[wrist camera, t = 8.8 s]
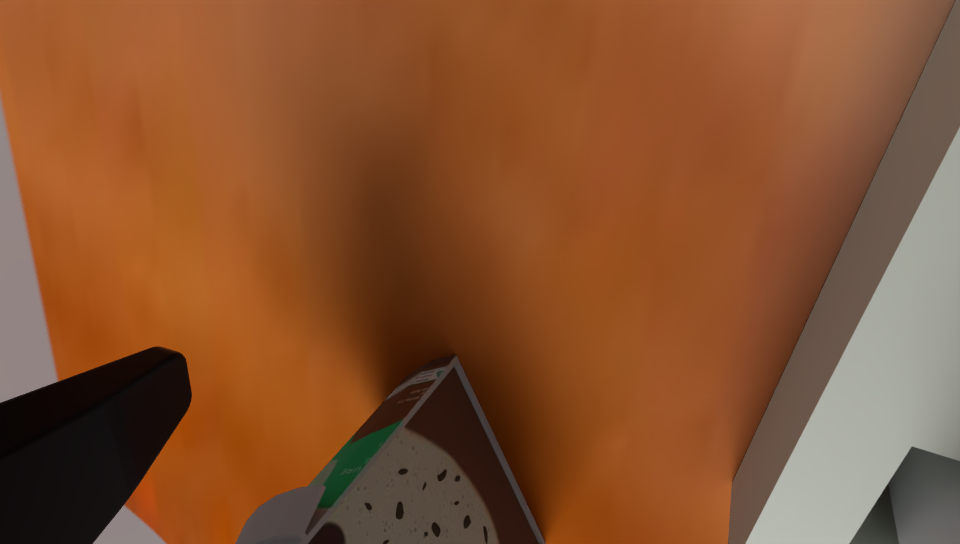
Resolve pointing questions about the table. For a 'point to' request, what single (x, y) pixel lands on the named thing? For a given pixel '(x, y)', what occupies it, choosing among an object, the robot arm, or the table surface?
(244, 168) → the table surface
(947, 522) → the grey peg
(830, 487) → the hole block
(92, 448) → the robot arm
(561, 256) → the table surface
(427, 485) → the food container
